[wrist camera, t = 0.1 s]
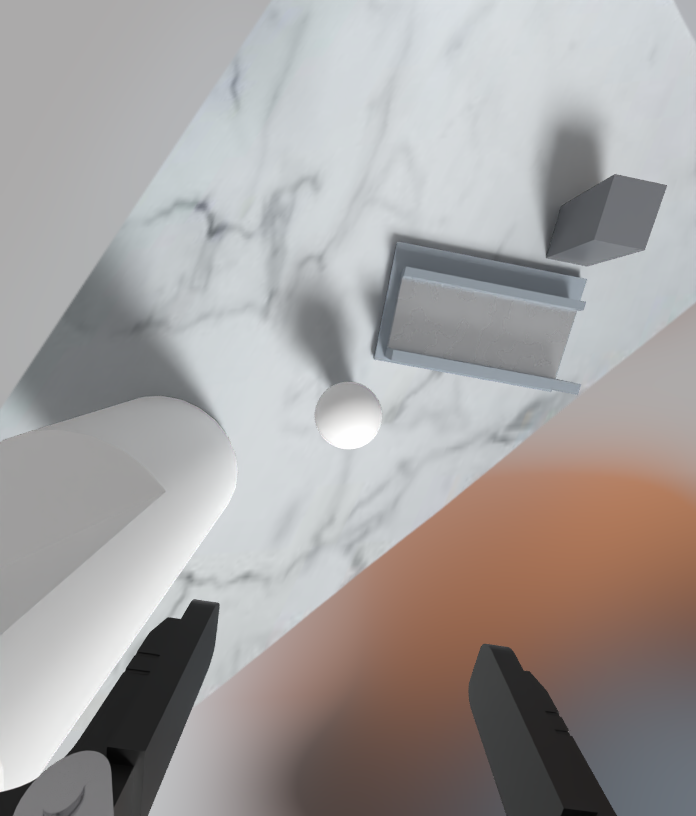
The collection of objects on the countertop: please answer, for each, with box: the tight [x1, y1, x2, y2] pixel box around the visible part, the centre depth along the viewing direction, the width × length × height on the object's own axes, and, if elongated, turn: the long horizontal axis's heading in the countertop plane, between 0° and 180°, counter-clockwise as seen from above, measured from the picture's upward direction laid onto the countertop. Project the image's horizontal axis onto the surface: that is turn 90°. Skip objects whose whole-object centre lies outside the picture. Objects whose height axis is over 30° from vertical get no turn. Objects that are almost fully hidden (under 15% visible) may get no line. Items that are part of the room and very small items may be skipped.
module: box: [546, 174, 667, 266], centre depth 31 cm, size 5×4×7 cm
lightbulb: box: [315, 382, 382, 449], centre depth 33 cm, size 6×6×11 cm
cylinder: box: [0, 396, 238, 792], centre depth 26 cm, size 17×17×28 cm
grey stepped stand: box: [374, 241, 587, 395], centre depth 33 cm, size 12×20×6 cm, turn 80°
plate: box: [387, 277, 576, 379], centre depth 35 cm, size 7×18×2 cm, turn 80°
